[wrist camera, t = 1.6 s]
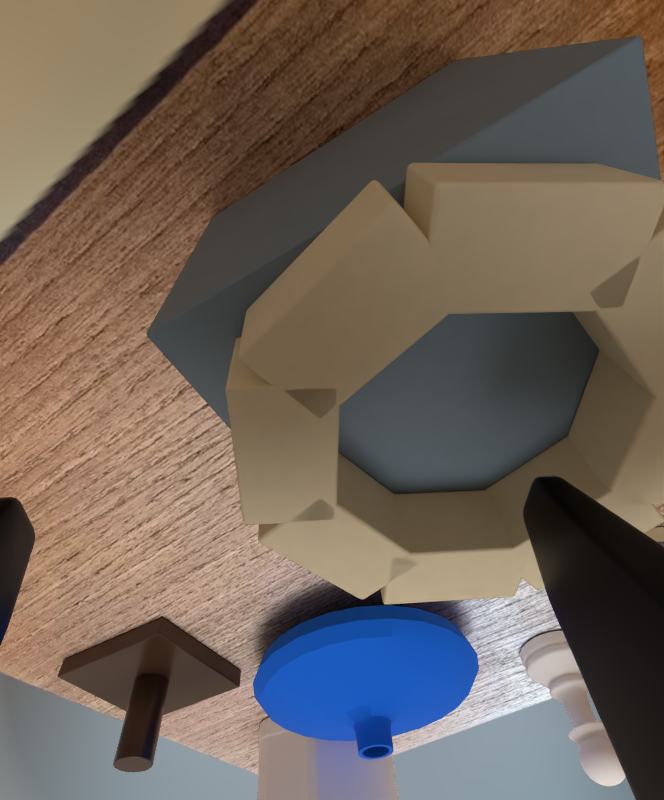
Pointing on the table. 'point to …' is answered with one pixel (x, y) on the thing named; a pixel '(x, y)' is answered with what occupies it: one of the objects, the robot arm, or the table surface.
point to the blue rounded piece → (365, 675)
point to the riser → (457, 333)
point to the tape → (411, 319)
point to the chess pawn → (573, 704)
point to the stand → (149, 682)
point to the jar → (319, 769)
